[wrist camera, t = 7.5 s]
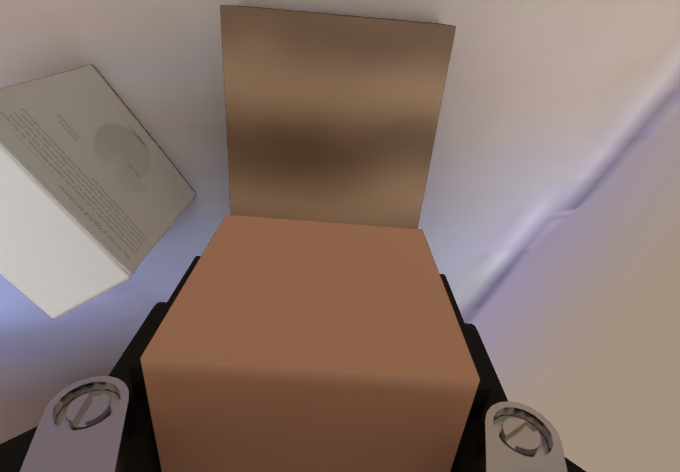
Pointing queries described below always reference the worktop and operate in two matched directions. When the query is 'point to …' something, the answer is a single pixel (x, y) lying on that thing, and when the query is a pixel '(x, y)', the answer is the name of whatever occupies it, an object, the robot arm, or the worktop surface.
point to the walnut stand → (331, 114)
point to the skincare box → (78, 189)
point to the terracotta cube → (310, 354)
